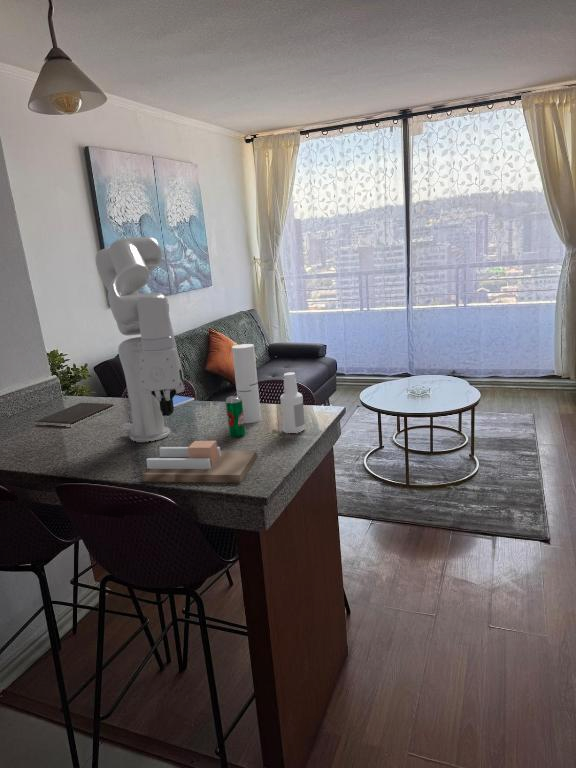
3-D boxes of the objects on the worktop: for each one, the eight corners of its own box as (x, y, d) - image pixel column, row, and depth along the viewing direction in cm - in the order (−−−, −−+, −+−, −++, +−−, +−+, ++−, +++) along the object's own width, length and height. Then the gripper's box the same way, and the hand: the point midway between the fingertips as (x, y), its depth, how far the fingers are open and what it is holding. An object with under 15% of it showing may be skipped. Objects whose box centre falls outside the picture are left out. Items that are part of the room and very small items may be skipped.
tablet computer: (138, 404, 217) (138, 400, 217) (163, 396, 227) (162, 392, 226) (171, 409, 205) (170, 406, 205) (195, 400, 215) (195, 397, 215)
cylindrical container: (265, 419, 182) (258, 345, 176) (246, 424, 179) (238, 349, 172) (254, 415, 188) (246, 343, 182) (235, 420, 184) (227, 346, 178)
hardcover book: (37, 427, 198) (35, 420, 197) (82, 408, 218) (81, 402, 218) (71, 429, 192) (70, 422, 191) (114, 409, 212) (113, 403, 212)
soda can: (243, 438, 166) (239, 400, 163) (227, 438, 167) (222, 400, 164) (247, 432, 171) (243, 395, 168) (232, 432, 172) (227, 395, 169)
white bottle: (307, 432, 166) (302, 374, 162) (284, 435, 166) (279, 377, 161) (302, 425, 173) (298, 370, 169) (281, 428, 172) (276, 372, 168)
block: (190, 465, 143) (187, 447, 141) (197, 458, 147) (194, 440, 146) (212, 465, 141) (209, 447, 140) (218, 458, 146) (216, 440, 145)
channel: (147, 468, 143) (146, 459, 142) (162, 455, 152) (160, 447, 151) (209, 469, 139) (208, 459, 139) (220, 455, 148) (219, 446, 147)
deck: (142, 481, 140) (141, 474, 140) (168, 457, 155) (167, 450, 155) (240, 482, 135) (239, 475, 134) (257, 457, 150) (256, 450, 149)
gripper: (123, 348, 136) (134, 419, 141) (179, 345, 133) (189, 418, 137) (137, 343, 143) (147, 411, 148) (191, 340, 140) (200, 409, 144)
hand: (167, 414), depth 142 cm, fingers closed
